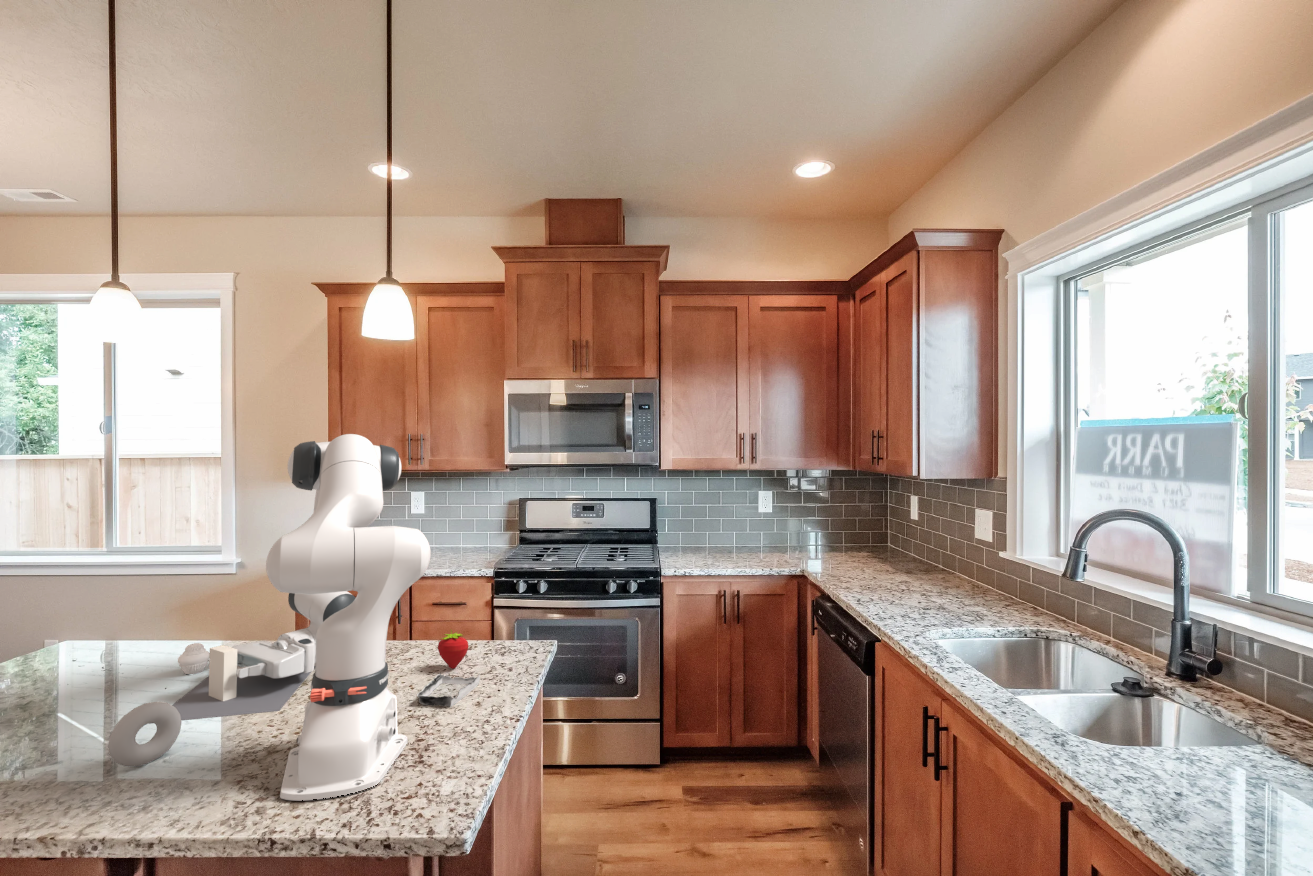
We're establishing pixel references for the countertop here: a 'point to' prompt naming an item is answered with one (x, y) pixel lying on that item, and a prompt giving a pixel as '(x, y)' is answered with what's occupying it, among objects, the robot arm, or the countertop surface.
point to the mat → (240, 697)
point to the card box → (223, 672)
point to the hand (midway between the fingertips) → (226, 669)
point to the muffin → (194, 658)
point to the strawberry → (453, 649)
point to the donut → (129, 725)
